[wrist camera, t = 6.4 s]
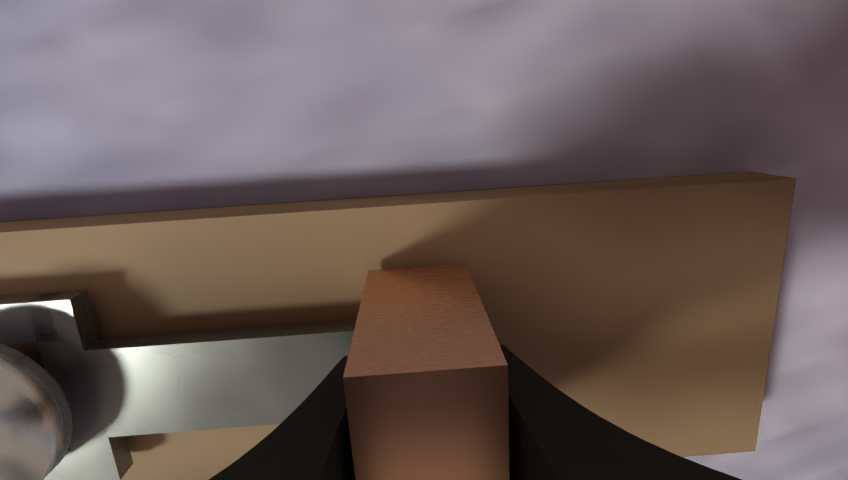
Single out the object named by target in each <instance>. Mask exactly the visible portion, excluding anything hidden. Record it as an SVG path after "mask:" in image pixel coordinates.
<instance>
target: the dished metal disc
mask: <svg viewBox="0 0 848 480" xmlns="http://www.w3.org/2000/svg"><path fill="white" fill-rule="evenodd" d="M72 433H73V422H72V415H71V410H70V407H69V405H68V402H67V399H66V397H65V395H64V394H63V392H62V390H61V388H60V387H59V386H58V384H57V383H56V381H55V380H54V379H53V378H52V377H51V376H50V375H49V374H48V372H47V371H46V369H45V366H44V363H43V359H42V356H41V353H40V350H37V349H33V348H27V347H17V348H11V347H8V346H6V345H4V344H0V480H43V479H44V478H45V477H46V476H47V475H48V474H49V473H50V472H51V471H52V470H53V469H54V468H55V467H56V466H57V465H58V464H59V463H60V462H61V461H62V459H63V458H64V456H65V455H66V453H67V451H68V449H69V447H70V443H71V439H72Z"/></svg>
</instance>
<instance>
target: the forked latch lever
mask: <svg viewBox="0 0 848 480" xmlns="http://www.w3.org/2000/svg"><path fill="white" fill-rule="evenodd" d="M24 343H38V347H39V350H40V353H41V356H42V359H43V363H44V366H45V369H46V371H47V372H48V374H49V375H50V376H51V377H52V378H53V379H54V380H55V381H56V383H57V384H58V386H59V387H60V388H61V390H62V392H63V394H64V395H65V397H66V399H67V402H68V405H69V407H70V410H71V415H72V422H73V433H72V439H71V443H70V447H69V449H68V451H67V453H66V455H65V456H64V458H63V459H62V461H61V462H60V463H59V464H58V465H57V466H56V467H55V468H54V469H53V470H52V471H51V472H50V473H49V474H48V475H47V476H46V477H45V478H44V479H43V480H121V479H122V477H123V476H124V475H125V474H126V472H127V471H128V470H129V469H130V467H131V466H132V465H133V460H132V456H131V452H130V449H129V445H128V441H127V437H126V436H132V435H145V434H157V433H170V432H183V431H196V430H209V429H222V428H235V427H247V426H260V425H273V424H281V423H282V422H283V421H284V420H285V419H286V418H287V417H288V416H289V415H290V414H291V413H292V412H293V411H294V410H295V409H296V408H297V407H298V406H299V405H300V404H301V403H302V402H303V401H304V400H305V399H306V398H307V397H308V396H309V395H310V394H311V393H312V391H313V390H314V389H315V388H316V387H317V386H318V385H319V384H320V383H321V381H322V380H323V379H324V378H325V377H326V376H327V375H328V373H329V372H330V371H331V370H332V369H333V368H334V367H335V365H336V364H337V363H338V362H339V361H340V360H341V359H342V358H343V357H344V356H348V358H347V363H346V367H345V371H344V375H343V382H344V390H345V399H346V407H347V415H348V424H349V432H350V440H351V448H352V457H353V465H354V473H355V480H510V474H509V407H508V364H507V362H506V359H505V357H504V354H503V352H502V350H501V347H500V345H499V342H498V340H497V338H496V335H495V333H494V330H493V328H492V325H491V323H490V321H489V318H488V316H487V313H486V311H485V308H484V306H483V304H482V301H481V299H480V296H479V294H478V292H477V289H476V287H475V284H474V282H473V279H472V277H471V275H470V272H469V270H468V267H467V265H466V263H465V264H451V265H437V266H423V267H409V268H395V269H380V270H368V274H367V278H366V282H365V287H364V291H363V295H362V299H361V304H360V308H359V312H358V316H357V320H354V321H340V322H327V323H313V324H299V325H286V326H272V327H258V328H244V329H231V330H217V331H203V332H190V333H176V334H162V335H148V336H135V337H121V338H107V339H100V337H99V333H98V330H97V326H96V322H95V319H94V315H93V311H92V308H91V304H90V300H89V296H88V293H87V290H83V291H69V292H54V293H40V294H26V295H12V296H0V344H4V345H10V344H24Z"/></svg>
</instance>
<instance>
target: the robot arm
mask: <svg viewBox="0 0 848 480" xmlns="http://www.w3.org/2000/svg"><path fill="white" fill-rule="evenodd" d="M499 345H500V347H501V350H502V352H503V354H504V357H505V359H506V362H507V364H508V407H509V474H510V480H741V479H738V478H736V477H733V476H730V475H727V474H725V473H722V472H719V471H716V470H713V469H711V468H708V467H705V466H703V465H700V464H698V463H695V462H693V461H690V460H688V459H685V458H683V457H681V456H678V455H676V454H674V453H672V452H669V451H667V450H665V449H663V448H660V447H658V446H656V445H654V444H652V443H649V442H647V441H645V440H643V439H641V438H639V437H637V436H635V435H633V434H631V433H629V432H627V431H625V430H623V429H622V428H620V427H618V426H616V425H614V424H613V423H611V422H609V421H607V420H605V419H604V418H602V417H600V416H598V415H597V414H595V413H593V412H592V411H590V410H588V409H587V408H585V407H584V406H582V405H581V404H579V403H578V402H576V401H575V400H573V399H572V398H570V397H569V396H567V395H566V394H564V393H563V392H562V391H560V390H559V389H557V388H556V387H555V386H553V385H552V384H551V383H549V382H548V381H547V380H545V379H544V378H543V377H542V376H540V375H539V374H538V373H536V372H535V371H534V370H533V369H531V368H530V367H529V366H528V365H527V364H525V363H524V362H523V361H522V360H521V359H519V358H518V357H517V356H516V355H515V354H514V353H512V352H511V351H510V350H509V349H508V348H506V347H505V346H504V345H503V344H499ZM347 358H348V356H344V357H343V358H342V359H341V360H340V361H339V362H338V363H337V364H336V365H335V367H334V368H333V369H332V370H331V371H330V372H329V373H328V375H327V376H326V377H325V378H324V379H323V380H322V381H321V383H320V384H319V385H318V386H317V387H316V388H315V389H314V390H313V391H312V393H311V394H310V395H309V396H308V397H307V398H306V399H305V400H304V401H303V402H302V403H301V404H300V405H299V406H298V407H297V408H296V409H295V410H294V411H293V412H292V413H291V414H290V415H289V416H288V417H287V418H286V419H285V420H284V421H283V422H282V423H281V424H280V425H279V426H278V427H276V428H275V429H274V430H273V431H272V432H271V433H270V434H269V435H267V436H266V437H265V438H264V439H263V440H261V441H260V442H259V443H258V444H257V445H255V446H254V447H253V448H252V449H250V450H249V451H248V452H246V453H245V454H244V455H243V456H241V457H240V458H239V459H238V460H236V461H235V462H233V463H232V464H231V465H229V466H228V467H226V468H225V469H223V470H222V471H221V472H219V473H218V474H216V475H215V476H213V477H212V478H210V479H209V480H355V473H354V465H353V457H352V448H351V440H350V432H349V424H348V415H347V407H346V399H345V390H344V382H343V375H344V371H345V367H346V363H347Z"/></svg>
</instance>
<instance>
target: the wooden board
mask: <svg viewBox="0 0 848 480" xmlns="http://www.w3.org/2000/svg"><path fill="white" fill-rule="evenodd" d="M795 182H796V179H795V178H789V177H782V176H776V175H770V174H764V173H757V172H740V173H725V174H710V175H695V176H680V177H665V178H650V179H635V180H620V181H605V182H590V183H575V184H560V185H545V186H531V187H516V188H501V189H486V190H471V191H456V192H441V193H426V194H411V195H396V196H381V197H366V198H351V199H336V200H321V201H307V202H292V203H277V204H262V205H247V206H232V207H217V208H202V209H187V210H172V211H157V212H142V213H127V214H112V215H98V216H83V217H68V218H53V219H38V220H23V221H8V222H0V296H12V295H26V294H40V293H54V292H69V291H83V290H87V293H88V296H89V300H90V304H91V308H92V311H93V315H94V319H95V322H96V326H97V330H98V333H99V337H100V339H107V338H121V337H135V336H148V335H162V334H176V333H190V332H203V331H217V330H231V329H244V328H258V327H272V326H286V325H299V324H313V323H327V322H340V321H354V320H357V316H358V312H359V308H360V304H361V299H362V295H363V291H364V287H365V282H366V278H367V274H368V270H380V269H395V268H409V267H423V266H437V265H451V264H465V263H466V265H467V267H468V270H469V272H470V275H471V277H472V279H473V282H474V284H475V287H476V289H477V292H478V294H479V296H480V299H481V301H482V304H483V306H484V308H485V311H486V313H487V316H488V318H489V321H490V323H491V325H492V328H493V330H494V333H495V335H496V338H497V340H498V342H499V344H503V345H504V346H505V347H506V348H508V349H509V350H510V351H511V352H512V353H514V354H515V355H516V356H517V357H518V358H519V359H521V360H522V361H523V362H524V363H525V364H527V365H528V366H529V367H530V368H531V369H533V370H534V371H535V372H536V373H538V374H539V375H540V376H542V377H543V378H544V379H545V380H547V381H548V382H549V383H551V384H552V385H553V386H555V387H556V388H557V389H559V390H560V391H562V392H563V393H564V394H566V395H567V396H569V397H570V398H572V399H573V400H575V401H576V402H578V403H579V404H581V405H582V406H584V407H585V408H587V409H588V410H590V411H592V412H593V413H595V414H597V415H598V416H600V417H602V418H604V419H605V420H607V421H609V422H611V423H613V424H614V425H616V426H618V427H620V428H622V429H623V430H625V431H627V432H629V433H631V434H633V435H635V436H637V437H639V438H641V439H643V440H645V441H647V442H649V443H652V444H654V445H656V446H658V447H660V448H663V449H665V450H667V451H669V452H672V453H674V454H676V455H678V456H681V457H687V456H699V455H712V454H724V453H736V452H749V451H755V448H756V442H757V435H758V428H759V422H760V415H761V408H762V402H763V395H764V388H765V382H766V375H767V368H768V362H769V355H770V349H771V342H772V335H773V329H774V322H775V315H776V309H777V302H778V295H779V289H780V282H781V275H782V269H783V262H784V255H785V249H786V242H787V235H788V229H789V222H790V215H791V209H792V202H793V195H794V189H795ZM6 346H8V347H11V348H17V347H27V348H33V349H37V350H39V347H38V343H24V344H10V345H6ZM279 425H280V424H273V425H260V426H247V427H235V428H222V429H209V430H196V431H183V432H170V433H157V434H145V435H132V436H126V437H127V441H128V445H129V449H130V452H131V456H132V460H133V465H132V466H131V467H130V469H129V470H128V471H127V472H126V474H125V475H124V476H123V477H122V479H121V480H209V479H210V478H212V477H213V476H215V475H216V474H218V473H219V472H221V471H222V470H223V469H225V468H226V467H228V466H229V465H231V464H232V463H233V462H235V461H236V460H238V459H239V458H240V457H241V456H243V455H244V454H245V453H246V452H248V451H249V450H250V449H252V448H253V447H254V446H255V445H257V444H258V443H259V442H260V441H261V440H263V439H264V438H265V437H266V436H267V435H269V434H270V433H271V432H272V431H273V430H274V429H275V428H276V427H278V426H279Z"/></svg>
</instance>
